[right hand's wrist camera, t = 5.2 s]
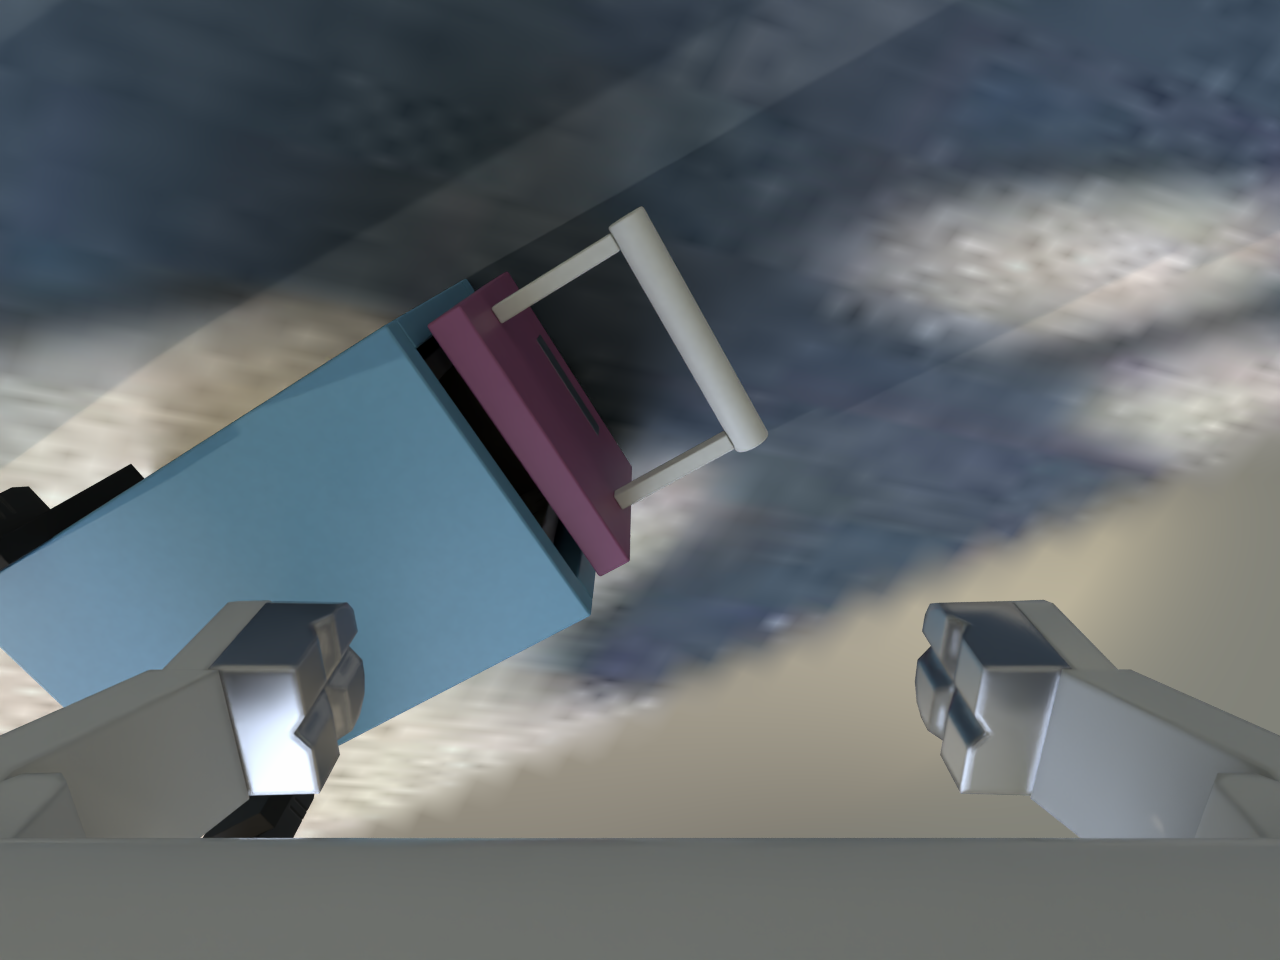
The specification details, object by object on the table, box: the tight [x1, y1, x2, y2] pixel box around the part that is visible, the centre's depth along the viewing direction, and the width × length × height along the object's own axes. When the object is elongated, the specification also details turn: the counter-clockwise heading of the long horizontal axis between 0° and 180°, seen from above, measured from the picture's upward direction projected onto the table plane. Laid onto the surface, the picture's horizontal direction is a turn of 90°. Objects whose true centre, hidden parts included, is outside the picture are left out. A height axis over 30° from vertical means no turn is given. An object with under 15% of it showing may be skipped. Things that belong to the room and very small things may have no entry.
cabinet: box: [0, 279, 595, 746], centre depth 29 cm, size 17×11×11 cm, turn 121°
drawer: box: [420, 207, 768, 576], centre depth 28 cm, size 22×10×9 cm, turn 121°
